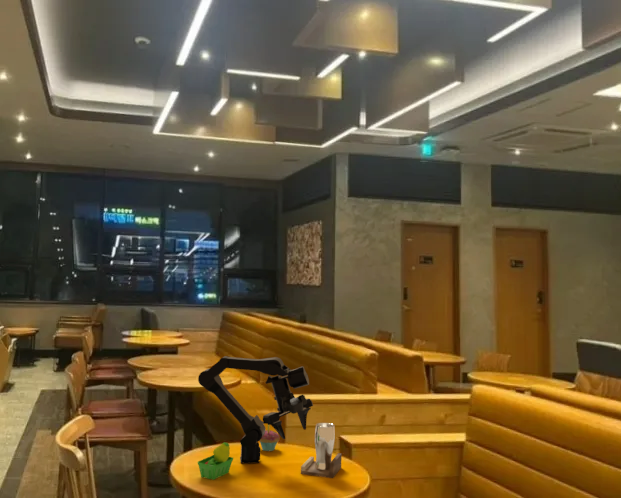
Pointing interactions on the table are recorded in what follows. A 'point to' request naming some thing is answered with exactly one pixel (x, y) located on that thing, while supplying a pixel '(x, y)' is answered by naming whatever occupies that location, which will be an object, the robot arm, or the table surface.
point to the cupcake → (269, 440)
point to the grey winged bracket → (310, 469)
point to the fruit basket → (216, 463)
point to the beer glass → (324, 445)
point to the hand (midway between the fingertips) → (294, 434)
